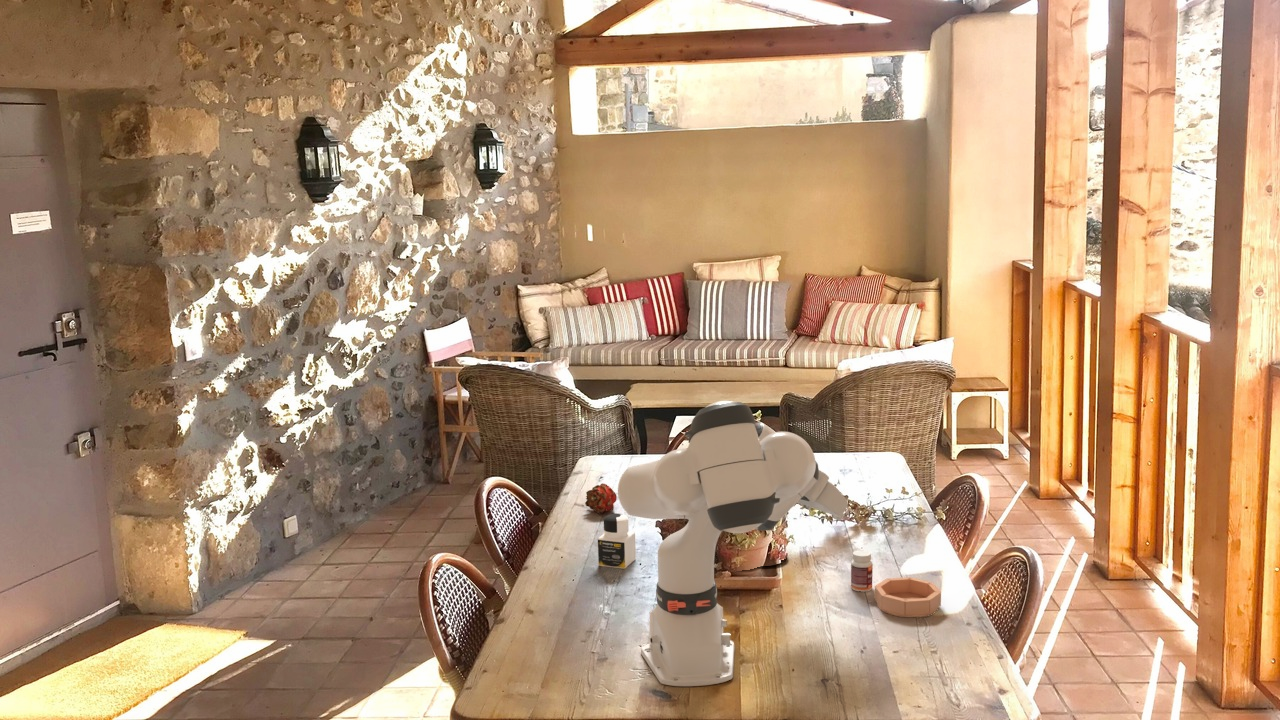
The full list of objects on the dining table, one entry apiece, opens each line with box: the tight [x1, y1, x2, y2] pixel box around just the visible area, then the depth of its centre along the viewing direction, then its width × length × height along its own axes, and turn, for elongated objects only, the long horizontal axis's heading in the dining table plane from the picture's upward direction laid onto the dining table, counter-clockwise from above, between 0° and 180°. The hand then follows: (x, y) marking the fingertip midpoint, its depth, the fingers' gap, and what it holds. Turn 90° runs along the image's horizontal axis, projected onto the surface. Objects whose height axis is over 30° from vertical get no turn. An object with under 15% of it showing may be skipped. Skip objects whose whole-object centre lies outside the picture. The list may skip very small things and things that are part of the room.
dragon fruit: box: [584, 482, 618, 515], centre depth 309 cm, size 8×8×12 cm
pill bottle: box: [850, 550, 874, 593], centre depth 248 cm, size 5×5×8 cm
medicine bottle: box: [597, 513, 637, 570], centre depth 268 cm, size 7×7×12 cm
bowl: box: [874, 576, 942, 618], centre depth 238 cm, size 13×13×4 cm
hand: (824, 511), depth 238 cm, fingers open, 8 cm apart
